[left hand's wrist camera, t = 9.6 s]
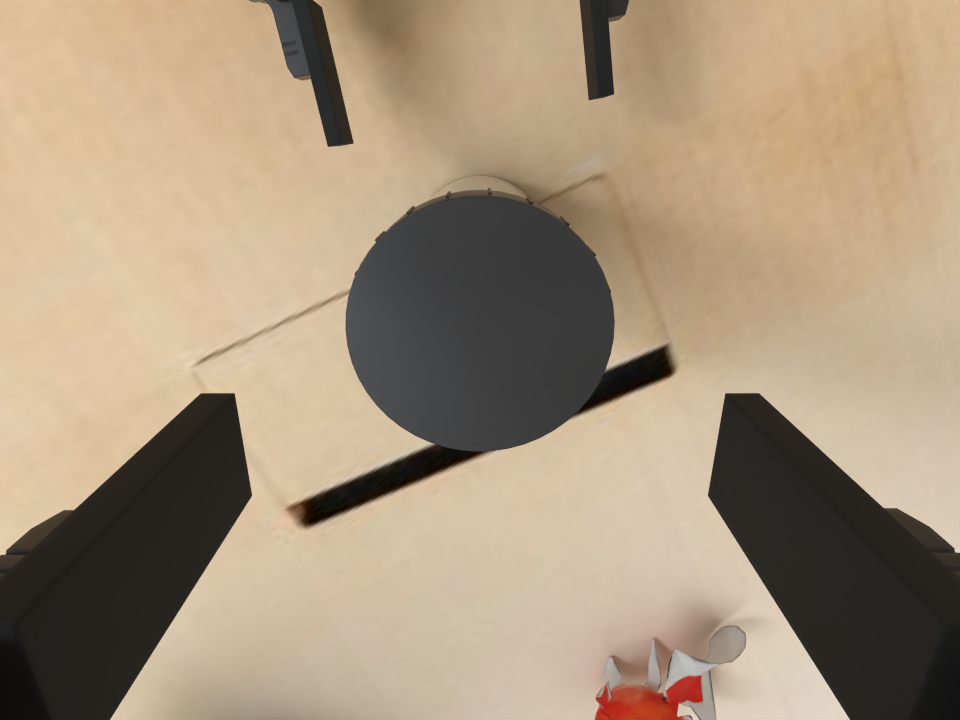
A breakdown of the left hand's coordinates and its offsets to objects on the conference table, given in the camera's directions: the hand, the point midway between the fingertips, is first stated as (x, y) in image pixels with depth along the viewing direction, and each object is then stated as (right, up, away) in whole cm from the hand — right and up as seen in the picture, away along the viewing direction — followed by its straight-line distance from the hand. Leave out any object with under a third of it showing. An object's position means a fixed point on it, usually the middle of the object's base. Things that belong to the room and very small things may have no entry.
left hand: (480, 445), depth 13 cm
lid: (0, +3, +8) cm, 8 cm away
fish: (+16, -24, +38) cm, 48 cm away
